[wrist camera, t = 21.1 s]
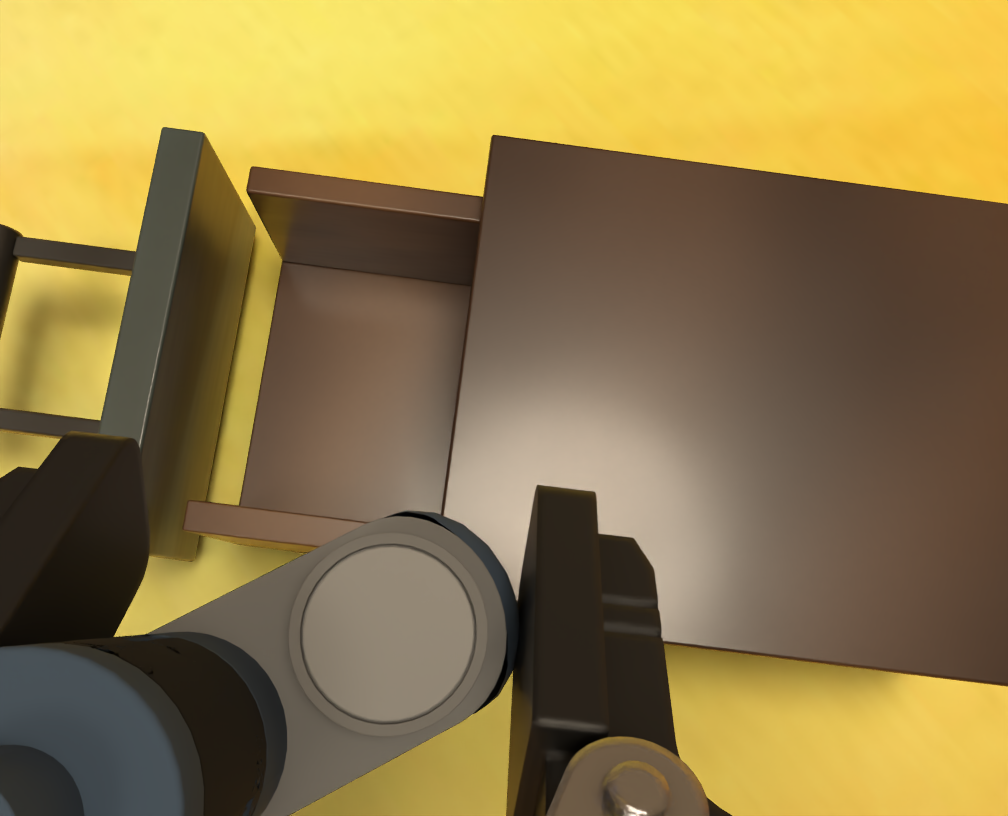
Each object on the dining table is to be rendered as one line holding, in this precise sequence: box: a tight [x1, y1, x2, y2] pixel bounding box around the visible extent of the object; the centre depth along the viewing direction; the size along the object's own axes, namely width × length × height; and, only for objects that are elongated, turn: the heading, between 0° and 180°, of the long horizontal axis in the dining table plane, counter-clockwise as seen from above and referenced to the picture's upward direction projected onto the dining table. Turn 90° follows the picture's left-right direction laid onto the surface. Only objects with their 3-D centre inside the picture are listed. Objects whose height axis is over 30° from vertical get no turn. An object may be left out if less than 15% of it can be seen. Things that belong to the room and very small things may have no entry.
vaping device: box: [0, 510, 520, 816], centre depth 11 cm, size 3×5×12 cm, turn 117°
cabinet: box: [441, 135, 1008, 686], centre depth 28 cm, size 16×13×9 cm
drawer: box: [0, 127, 483, 561], centre depth 28 cm, size 20×11×7 cm, turn 83°
